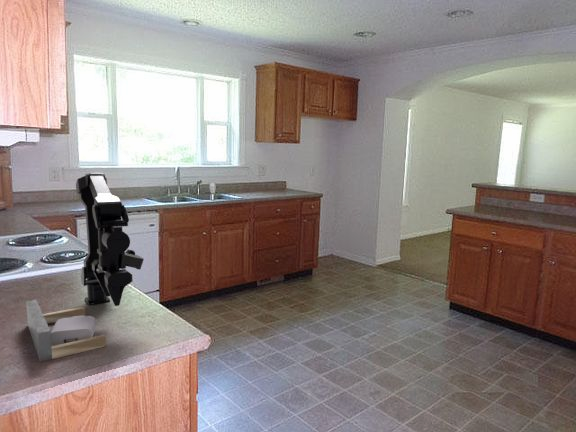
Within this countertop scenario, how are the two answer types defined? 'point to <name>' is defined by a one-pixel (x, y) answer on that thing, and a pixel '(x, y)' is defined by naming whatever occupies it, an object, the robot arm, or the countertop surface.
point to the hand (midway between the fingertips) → (112, 300)
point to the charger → (72, 329)
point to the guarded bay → (43, 336)
